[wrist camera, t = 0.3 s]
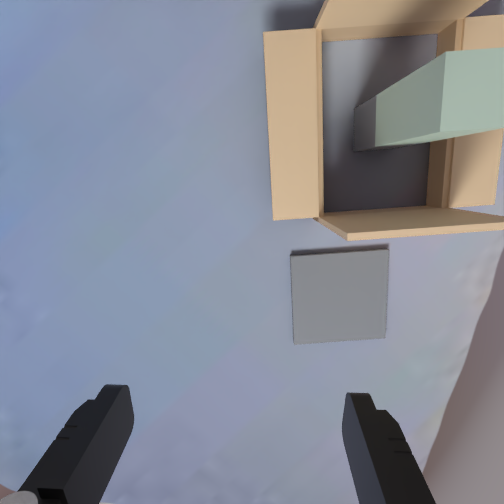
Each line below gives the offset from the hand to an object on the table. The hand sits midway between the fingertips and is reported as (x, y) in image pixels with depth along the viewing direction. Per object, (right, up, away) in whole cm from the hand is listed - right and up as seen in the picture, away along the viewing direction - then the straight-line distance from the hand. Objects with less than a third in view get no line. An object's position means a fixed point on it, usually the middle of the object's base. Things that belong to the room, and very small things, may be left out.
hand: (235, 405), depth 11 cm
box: (+14, +20, +23) cm, 33 cm away
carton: (+14, +20, +23) cm, 33 cm away
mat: (+12, 0, +28) cm, 30 cm away
